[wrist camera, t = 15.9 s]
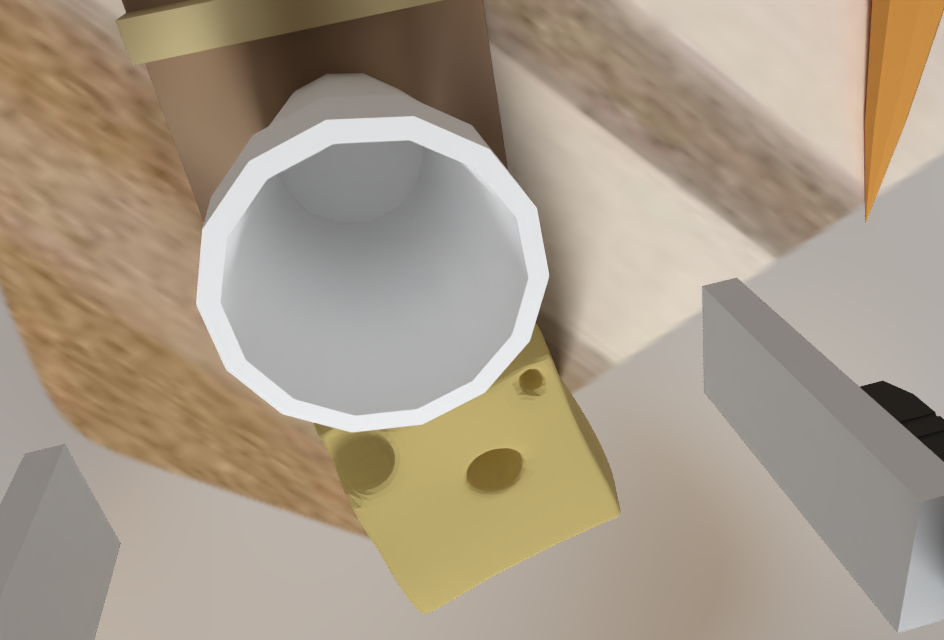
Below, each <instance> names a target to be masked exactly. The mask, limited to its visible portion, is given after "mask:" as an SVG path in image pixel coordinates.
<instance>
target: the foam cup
mask: <svg viewBox="0 0 944 640" xmlns="http://www.w3.org/2000/svg"><path fill="white" fill-rule="evenodd" d="M548 279H549V271H548V266H547V260H546V255H545V249H544V244H543V238H542V233H541V227H540V222H539V217H538V211H537V207H536V206H535V205H534V203H533V202H532V201H531V199H530V198H529V197H528V195H527V194H526V193H525V192H524V190H523V189H522V188H521V186H520V185H519V184H518V182H517V181H516V180H515V178H514V177H513V176H512V175H511V173H510V172H509V171H508V170H507V168H506V167H505V166H504V165H503V164H502V162H501V161H500V160H499V159H498V157H497V156H496V155H495V154H494V152H493V151H492V150H491V149H490V147H489V146H488V145H487V144H486V142H485V141H484V140H483V139H482V137H481V136H480V135H479V134H478V132H477V131H476V130H475V129H474V127H473V126H472V125H470V124H468V123H466V122H463V121H461V120H459V119H457V118H455V117H452V116H450V115H448V114H446V113H443V112H441V111H439V110H437V109H434V108H432V107H430V106H428V105H425V104H423V103H421V102H419V101H417V100H416V99H414V98H412V97H411V96H409V95H408V94H406V93H404V92H403V91H401V90H399V89H397V88H395V87H393V86H391V85H389V84H386V83H384V82H382V81H380V80H377V79H375V78H373V77H371V76H368V75H366V74H364V73H344V74H326V75H324V76H322V77H320V78H318V79H316V80H315V81H313V82H311V83H309V84H307V85H305V86H303V87H302V88H300V89H298V90H296V91H295V92H294V93H293V94H292V95H291V96H290V98H289V99H288V101H287V102H286V103H285V105H284V106H283V107H282V109H281V110H280V112H279V113H278V114H277V116H276V117H275V118H274V120H273V121H272V123H271V124H270V125H269V126H268V127H267V128H265V129H263V130H261V131H259V132H257V133H255V134H254V135H253V136H252V137H251V139H250V140H249V142H248V143H247V145H246V146H245V147H244V149H243V150H242V152H241V153H240V155H239V156H238V158H237V159H236V161H235V162H234V164H233V165H232V167H231V168H230V170H229V171H228V173H227V174H226V176H225V177H224V179H223V180H222V181H221V183H220V184H219V186H218V187H217V189H216V190H215V192H214V193H213V195H212V196H211V199H210V203H209V206H208V210H207V214H206V218H205V221H204V225H203V229H202V240H201V252H200V264H199V276H198V288H197V300H196V305H197V308H198V310H199V312H200V314H201V316H202V318H203V321H204V323H205V325H206V327H207V329H208V331H209V333H210V336H211V338H212V340H213V342H214V344H215V346H216V349H217V351H218V353H219V355H220V357H221V359H222V362H223V364H224V366H225V368H226V370H227V371H228V372H230V373H231V374H232V375H233V376H235V377H236V378H237V379H238V380H240V381H241V382H242V383H244V384H245V385H246V386H247V387H249V388H250V389H251V390H252V391H254V392H255V393H256V394H257V395H259V396H260V397H261V398H263V399H264V400H265V401H266V402H268V403H269V404H270V405H271V406H273V407H274V408H275V409H276V410H278V411H279V412H280V413H282V414H284V415H287V416H291V417H295V418H299V419H302V420H306V421H310V422H314V423H318V424H321V425H325V426H329V427H333V428H337V429H340V430H344V431H348V432H361V431H370V430H378V429H387V428H396V427H405V426H414V425H423V424H425V423H427V422H428V421H430V420H432V419H434V418H436V417H438V416H440V415H442V414H444V413H446V412H448V411H450V410H452V409H454V408H456V407H458V406H460V405H462V404H464V403H466V402H468V401H470V400H472V399H473V398H475V397H477V396H479V395H481V394H483V393H485V392H486V391H487V390H488V389H489V387H490V386H491V385H492V384H493V383H494V382H495V380H496V379H497V378H498V377H499V376H500V375H501V374H502V372H503V371H504V370H505V369H506V368H507V367H508V366H509V364H510V363H511V362H512V361H513V360H514V359H515V358H516V356H517V355H518V354H519V353H520V352H521V351H522V350H523V348H524V347H525V346H526V345H527V344H528V343H529V342H530V339H531V336H532V332H533V329H534V326H535V322H536V319H537V316H538V313H539V309H540V306H541V303H542V299H543V296H544V293H545V289H546V286H547V283H548Z"/></svg>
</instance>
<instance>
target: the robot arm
mask: <svg viewBox="0 0 944 640" xmlns="http://www.w3.org/2000/svg"><path fill="white" fill-rule="evenodd" d="M702 305H703V366H704V393H705V394H706V395H707V396H708V398H709V399H710V400H711V402H712V403H713V404H714V405H715V407H716V408H717V409H718V410H719V412H720V413H721V414H722V415H723V417H724V418H725V419H726V420H727V421H728V423H729V424H730V425H731V426H732V428H733V429H734V430H735V431H736V433H737V434H738V435H739V436H740V438H741V439H742V440H743V441H744V443H745V444H746V445H747V446H748V448H749V449H750V450H751V451H752V453H753V454H754V455H755V456H756V458H757V459H758V460H759V461H760V463H761V464H762V465H763V466H764V468H765V469H766V470H767V471H768V472H769V474H770V475H771V476H772V477H773V479H774V480H775V481H776V483H777V484H778V485H779V486H780V487H781V489H782V490H783V491H784V492H785V494H786V495H787V496H788V497H789V499H790V500H791V501H792V502H793V504H794V505H795V506H796V507H797V509H798V510H799V511H800V512H801V514H802V515H803V516H804V517H805V519H806V520H807V521H808V522H809V524H810V525H811V526H812V527H813V529H814V530H815V531H816V532H817V534H818V535H819V536H820V537H821V539H822V540H823V541H824V542H825V544H826V545H827V546H828V547H829V549H830V550H831V551H832V552H833V553H834V555H835V556H836V557H837V558H838V560H839V561H840V562H841V563H842V565H843V566H844V567H845V568H846V570H847V571H848V572H849V573H850V575H851V576H852V577H853V578H854V580H855V581H856V582H857V583H858V585H859V586H860V587H861V588H862V590H863V591H864V592H865V593H866V594H867V596H868V597H869V598H870V600H871V601H872V602H873V603H874V605H875V606H876V607H877V608H878V609H879V611H880V612H881V613H882V615H883V616H884V617H885V618H886V619H887V621H888V622H889V623H890V624H891V626H892V627H893V628H894V629H895V630H896V632H897V633H900V632H904V631H907V630H911V629H914V628H917V627H921V626H924V625H928V624H931V623H934V622H938V621H941V620H944V419H943V418H942V417H940V416H938V417H937V416H936V414H935V412H934V411H933V410H932V409H930V408H929V407H928V406H927V405H926V404H925V403H923V402H922V401H921V400H920V399H919V398H917V397H916V396H915V395H914V394H912V393H910V392H907V391H905V390H903V389H901V388H898V387H896V386H894V385H891V384H889V383H887V382H884V381H880V382H876V383H873V384H868V385H865V386H861V387H859V386H858V385H857V384H856V383H854V382H853V381H852V380H851V379H850V378H849V377H847V375H845V374H844V373H843V372H842V371H841V370H840V369H839V368H837V367H836V366H835V365H834V364H833V363H832V362H831V361H830V360H828V359H827V358H826V357H825V356H824V355H823V354H822V353H821V352H820V351H818V350H817V349H816V348H815V347H814V346H813V345H812V344H811V343H810V342H808V341H807V340H806V339H805V338H804V337H803V336H802V335H801V334H799V333H798V332H797V331H796V330H795V329H794V328H793V327H792V326H790V325H789V324H788V323H787V322H786V321H785V320H784V319H783V318H781V317H780V316H779V315H778V314H777V313H776V312H775V311H773V310H772V309H771V308H770V307H769V306H768V305H767V304H766V303H765V302H763V301H762V300H761V299H760V298H759V297H758V296H757V295H756V294H754V293H753V292H752V291H751V290H750V289H749V288H748V287H747V286H745V285H744V284H743V283H742V282H741V281H740V280H739V279H738V278H734V279H730V280H726V281H722V282H718V283H713V284H709V285H705V286H702ZM120 544H121V543H120V541H119V540H118V538H117V536H116V534H115V532H114V531H113V529H112V527H111V525H110V523H109V522H108V520H107V518H106V517H105V514H104V513H103V511H102V509H101V507H100V506H99V504H98V502H97V500H96V498H95V497H94V495H93V493H92V491H91V489H90V488H89V486H88V484H87V483H86V481H85V479H84V477H83V475H82V473H81V472H80V470H79V468H78V466H77V464H76V463H75V461H74V459H73V457H72V456H71V454H70V452H69V450H68V448H67V447H66V445H65V444H63V445H59V446H54V447H51V448H46V449H42V450H38V451H34V452H30V453H26V454H25V455H24V457H23V459H22V461H21V463H20V465H19V467H18V469H17V471H16V473H15V475H14V477H13V480H12V481H11V484H10V486H9V488H8V490H7V492H6V494H5V496H4V498H3V500H2V502H1V504H0V640H94V639H95V635H96V632H97V628H98V624H99V621H100V617H101V613H102V610H103V606H104V603H105V599H106V595H107V592H108V588H109V584H110V581H111V577H112V573H113V569H114V566H115V562H116V559H117V555H118V551H119V547H120Z"/></svg>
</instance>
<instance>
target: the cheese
mask: <svg viewBox="0 0 944 640" xmlns="http://www.w3.org/2000/svg"><path fill="white" fill-rule="evenodd" d="M314 425H315V428H316V431H317V433H318V435H319V437H320V439H321V440H322V442H323V443H324V445H325V447H326V449H327V450H328V452H329V454H330V456H331V458H332V461H333V463H334V466H335V468H336V471H337V473H338V476H339V479H340V481H341V484H342V486H343V488H344V491H345V493H346V495H347V497H348V500H349V502H350V504H351V507H352V509H353V510H354V512H355V514H356V516H357V517H358V519H359V521H360V523H361V524H362V526H363V527H364V529H365V530H366V532H367V534H368V535H369V537H370V538H371V540H372V541H373V543H374V544H375V546H376V548H377V549H378V551H379V552H380V554H381V555H382V557H383V559H384V561H385V562H386V564H387V566H388V568H389V569H390V571H391V573H392V575H393V576H394V578H395V580H396V581H397V583H398V584H399V586H400V587H401V589H402V590H403V592H404V593H405V595H406V596H407V598H408V599H409V600H410V601H411V603H412V604H413V605H414V606H415V607H417V609H418V610H419V611H420V612H421V613H424V614H427V613H430V612H432V611H433V610H435V609H437V608H439V607H441V606H443V605H444V604H446V603H448V602H450V601H452V600H453V599H455V598H457V597H458V596H460V595H462V594H463V593H465V592H467V591H468V590H470V589H472V588H473V587H475V586H476V585H478V584H480V583H481V582H483V581H485V580H487V579H488V578H490V577H492V576H494V575H496V574H498V573H500V572H502V571H504V570H506V569H507V568H510V567H512V566H513V565H515V564H517V563H519V562H521V561H523V560H525V559H527V558H529V557H531V556H533V555H535V554H537V553H539V552H541V551H543V550H545V549H547V548H549V547H551V546H553V545H555V544H558V543H560V542H562V541H564V540H567V539H569V538H571V537H573V536H575V535H578V534H580V533H582V532H584V531H586V530H589V529H591V528H593V527H595V526H598V525H600V524H602V523H604V522H607V521H609V520H612V519H614V518H616V517H619V515H620V506H619V502H618V497H617V492H616V487H615V482H614V479H613V475H612V471H611V468H610V466H609V463H608V461H607V458H606V456H605V454H604V451H603V449H602V447H601V445H600V443H599V441H598V439H597V437H596V435H595V433H594V431H593V429H592V427H591V425H590V424H589V422H588V420H587V418H586V417H585V415H584V413H583V412H582V410H581V408H580V407H579V405H578V404H577V402H576V400H575V399H574V397H573V396H572V394H571V393H570V391H569V390H568V388H567V387H566V385H565V384H564V383H563V381H562V380H561V378H560V377H559V374H558V372H557V369H556V367H555V364H554V362H553V359H552V357H551V354H550V352H549V349H548V347H547V344H546V342H545V340H544V337H543V335H542V333H541V331H540V329H539V327H538V325H537V324H536V322H535V326H534V329H533V332H532V336H531V339H530V342H529V343H528V344H527V345H526V346H525V347H524V348H523V350H522V351H521V352H520V353H519V354H518V355H517V356H516V358H515V359H514V360H513V361H512V362H511V363H510V364H509V366H508V367H507V368H506V369H505V370H504V371H503V372H502V374H501V375H500V376H499V377H498V378H497V379H496V380H495V382H494V383H493V384H492V385H491V386H490V387H489V389H488V390H487V391H486V392H485V393H483V394H481V395H479V396H477V397H475V398H473V399H472V400H470V401H468V402H466V403H464V404H462V405H460V406H458V407H456V408H454V409H452V410H450V411H448V412H446V413H444V414H442V415H440V416H438V417H436V418H434V419H432V420H430V421H428V422H427V423H425V424H423V425H414V426H405V427H396V428H387V429H378V430H370V431H361V432H348V431H344V430H340V429H337V428H333V427H329V426H325V425H321V424H318V423H314Z"/></svg>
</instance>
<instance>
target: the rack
mask: <svg viewBox="0 0 944 640" xmlns="http://www.w3.org/2000/svg"><path fill="white" fill-rule="evenodd" d="M122 2H123V5H124V8H125V10H126V13H125V14H124V15H123V16H121V17H120V18H119V19H117V20H116V23H117V26H118V29H119V31H120V34H121V37H122V39H123V42H124V44H125V47H126V50H127V52H128V55H129V58H130V60H131V63H132V65H138V64H142V63H145V64H146V67H147V70H148V72H149V75H150V78H151V80H152V83H153V86H154V88H155V91H156V94H157V96H158V99H159V102H160V105H161V107H162V110H163V113H164V115H165V118H166V121H167V123H168V126H169V129H170V131H171V134H172V137H173V139H174V142H175V145H176V148H177V150H178V153H179V156H180V158H181V161H182V164H183V166H184V169H185V172H186V174H187V177H188V180H189V183H190V185H191V188H192V191H193V193H194V196H195V199H196V201H197V204H198V207H199V209H200V212H201V215H202V218H203V220H204V221H205V218H206V214H207V210H208V206H209V203H210V199H211V196H212V195H213V193H214V192H215V190H216V189H217V187H218V186H219V184H220V183H221V181H222V180H223V179H224V177H225V176H226V174H227V173H228V171H229V170H230V168H231V167H232V165H233V164H234V162H235V161H236V159H237V158H238V156H239V155H240V153H241V152H242V150H243V149H244V147H245V146H246V145H247V143H248V142H249V140H250V139H251V137H252V136H253V135H254V134H255V133H257V132H259V131H261V130H263V129H265V128H267V127H268V126H269V125H270V124H271V123H272V121H273V120H274V118H275V117H276V116H277V114H278V113H279V112H280V110H281V109H282V107H283V106H284V105H285V103H286V102H287V101H288V99H289V98H290V96H291V95H292V94H293V93H294V92H295V91H296V90H298V89H300V88H302V87H303V86H305V85H307V84H309V83H311V82H313V81H315V80H316V79H318V78H320V77H322V76H324V75H326V74H344V73H364V74H366V75H368V76H371V77H373V78H375V79H377V80H380V81H382V82H384V83H386V84H389V85H391V86H393V87H395V88H397V89H399V90H401V91H403V92H404V93H406V94H408V95H409V96H411V97H412V98H414V99H416V100H417V101H419V102H421V103H423V104H425V105H428V106H430V107H432V108H434V109H437V110H439V111H441V112H443V113H446V114H448V115H450V116H452V117H455V118H457V119H459V120H461V121H463V122H466V123H468V124H470V125H472V126H473V127H474V129H475V130H476V131H477V132H478V134H479V135H480V136H481V137H482V139H483V140H484V141H485V142H486V144H487V145H488V146H489V147H490V149H491V150H492V151H493V152H494V154H495V155H496V156H497V157H498V159H499V160H500V161H501V162H502V164H503V165H504V166H505V167H506V168H507V162H506V155H505V148H504V142H503V135H502V128H501V121H500V115H499V108H498V101H497V94H496V88H495V81H494V74H493V67H492V61H491V54H490V47H489V41H488V34H487V27H486V20H485V14H484V7H483V0H122ZM507 170H508V168H507Z"/></svg>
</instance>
